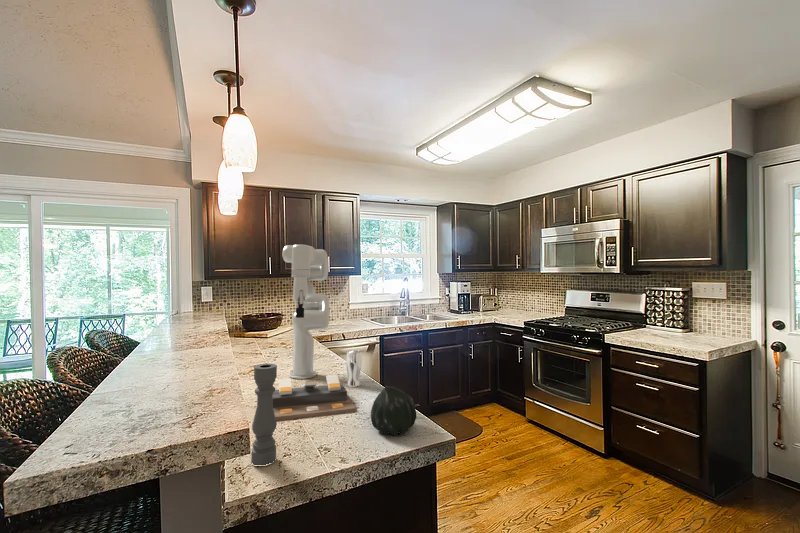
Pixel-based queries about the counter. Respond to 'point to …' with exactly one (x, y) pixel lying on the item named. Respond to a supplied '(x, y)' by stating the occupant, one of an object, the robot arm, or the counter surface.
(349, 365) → the beige tall curved piece
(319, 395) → the switch unit
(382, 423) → the squash
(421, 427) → the counter surface
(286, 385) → the plate
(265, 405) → the candle holder
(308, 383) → the block
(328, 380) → the block
